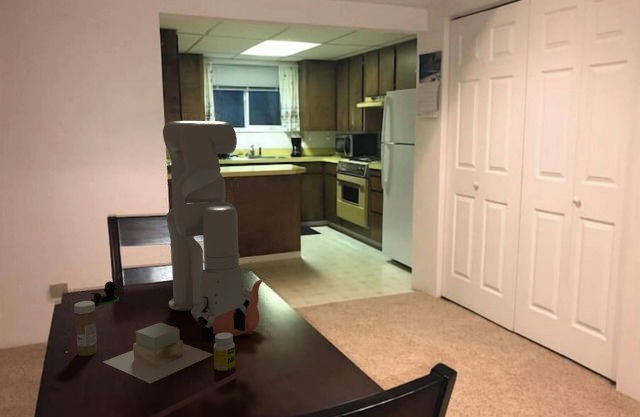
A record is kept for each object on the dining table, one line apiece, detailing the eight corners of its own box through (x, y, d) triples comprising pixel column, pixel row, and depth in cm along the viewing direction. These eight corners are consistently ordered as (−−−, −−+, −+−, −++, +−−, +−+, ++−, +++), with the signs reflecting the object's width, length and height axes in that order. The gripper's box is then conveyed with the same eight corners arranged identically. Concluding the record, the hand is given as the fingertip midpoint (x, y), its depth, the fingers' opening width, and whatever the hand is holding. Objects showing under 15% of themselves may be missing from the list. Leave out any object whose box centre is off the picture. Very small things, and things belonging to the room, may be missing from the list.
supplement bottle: (230, 376, 118) (229, 340, 116) (211, 374, 119) (209, 338, 117) (238, 367, 122) (237, 332, 121) (219, 365, 123) (218, 331, 122)
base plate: (166, 341, 137) (165, 337, 137) (213, 358, 127) (213, 354, 127) (102, 366, 123) (102, 361, 123) (150, 387, 113) (150, 383, 112)
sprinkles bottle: (74, 356, 128) (70, 303, 126) (92, 350, 132) (88, 298, 130) (83, 361, 125) (79, 307, 123) (101, 355, 129) (98, 302, 127)
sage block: (161, 334, 129) (160, 322, 129) (179, 340, 125) (179, 328, 125) (136, 343, 123) (135, 331, 123) (154, 350, 119) (154, 338, 119)
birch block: (162, 348, 130) (161, 333, 130) (183, 356, 126) (182, 340, 125) (134, 359, 124) (133, 343, 123) (155, 368, 119) (154, 351, 119)
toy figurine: (81, 303, 168) (79, 286, 168) (104, 294, 178) (102, 278, 177) (105, 307, 165) (104, 289, 164) (127, 297, 174) (126, 281, 173)
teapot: (204, 323, 150) (203, 277, 148) (263, 321, 152) (263, 275, 150) (197, 345, 134) (195, 295, 133) (263, 343, 136) (262, 293, 134)
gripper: (237, 253, 126) (239, 322, 128) (179, 267, 112) (182, 344, 114) (260, 257, 121) (262, 328, 124) (203, 272, 107) (206, 352, 110)
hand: (224, 336), depth 119 cm, fingers open, 9 cm apart
